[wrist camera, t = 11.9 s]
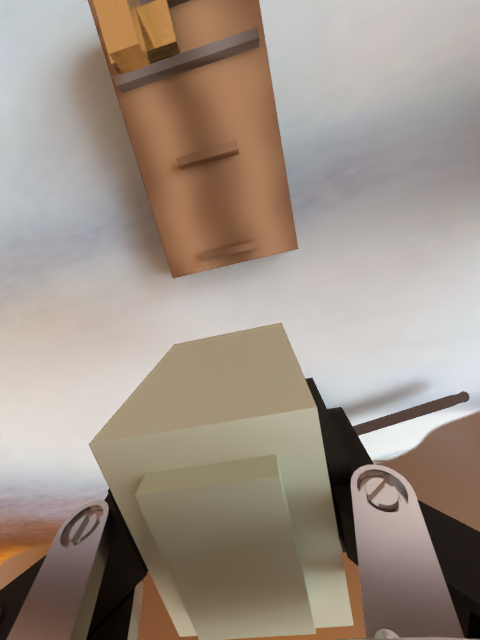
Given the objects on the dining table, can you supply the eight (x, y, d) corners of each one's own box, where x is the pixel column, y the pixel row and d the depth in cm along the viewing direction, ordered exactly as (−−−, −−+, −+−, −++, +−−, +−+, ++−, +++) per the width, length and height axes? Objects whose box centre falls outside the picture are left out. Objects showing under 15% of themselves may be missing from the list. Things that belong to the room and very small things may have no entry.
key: (157, -42, 16) (111, -186, 11) (190, 97, 18) (165, 33, 13) (92, -16, 17) (16, -140, 11) (131, 116, 19) (83, 63, 14)
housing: (246, -12, 20) (243, -115, 15) (289, 249, 26) (300, 248, 20) (117, 35, 22) (69, -43, 16) (186, 273, 28) (169, 279, 22)
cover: (281, 322, 10) (324, 424, 4) (305, 450, 12) (361, 655, 6) (174, 344, 11) (71, 463, 5) (212, 463, 13) (174, 665, 7)
